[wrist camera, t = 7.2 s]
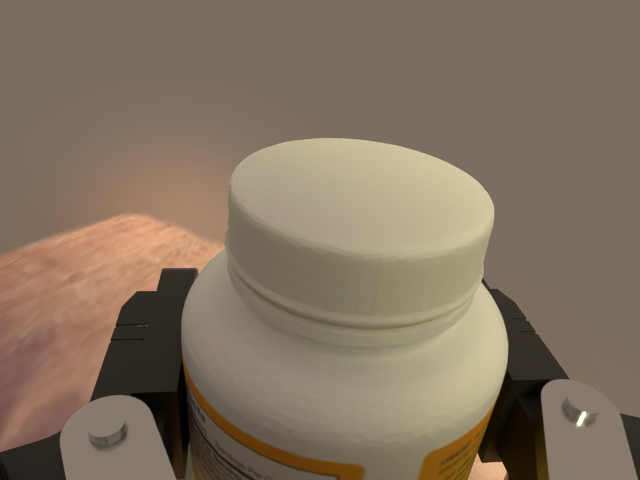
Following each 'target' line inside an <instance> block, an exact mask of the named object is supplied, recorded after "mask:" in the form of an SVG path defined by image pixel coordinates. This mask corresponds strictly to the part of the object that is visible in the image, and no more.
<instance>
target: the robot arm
mask: <svg viewBox="0 0 640 480" xmlns="http://www.w3.org/2000/svg"><path fill="white" fill-rule="evenodd" d="M197 276H198V270H197V268H163V269H162V272H161V276H160V280H159V283H158V287H157V291H137V292H136V293H135V294H134V295H133V296H132V297H131V298H130V299H129V300H128V301H127V302H126V303H125V304H124V305H123V306H122V308H121V311H120V314H119V317H118V320H117V323H116V328H114V331H113V334H112V337H111V343H109V346H108V349H107V352H106V355H105V358H104V361H103V364H102V367H101V370H100V373H99V376H98V379H97V382H96V385H95V388H94V391H93V394H92V397H91V400H90V402H89V403H88V404H86V405H84V406H83V407H81V408H80V409H78V410H77V411H76V412H75V413H74V414H73V415H72V416H71V417H70V418H69V419H68V420H67V422H66V424H65V425H64V427H63V429H62V431H60V432H58V433H57V434H54V435H52V436H50V437H48V438H45V439H42V440H40V441H36V442H33V443H30V444H27V445H23V446H20V447H17V448H13V449H10V450H7V451H3V452H0V480H181V479H185V475H186V466H187V457H188V449H189V440H190V439H189V427H188V415H187V404H186V392H185V382H184V370H183V359H182V343H181V324H182V313H183V309H184V304H185V301H186V298H187V295H188V293H189V290H190V288H191V287H192V285H193V283H194V281H195V280H196V278H197ZM481 283H482V284H483V285H484V286H485V288H486V289H487V290H488V292H489V293H490V294H491V296H492V298H493V299H494V301H495V303H496V305H497V307H498V309H499V311H500V313H501V315H502V318H503V321H504V324H505V328H506V333H507V339H508V361H507V367H506V372H505V376H504V379H503V383H502V386H501V389H500V392H499V395H498V398H497V400H496V403H495V406H494V408H493V411H492V414H491V416H490V419H489V422H488V425H487V428H486V430H485V433H484V436H483V438H482V441H481V444H480V446H479V449H478V452H477V453H478V455H479V457H480V460H481V462H482V463H486V462H503V464H504V466H505V468H506V471H507V473H506V475H505V477H504V480H640V418H638V417H634V416H629V415H625V414H620V413H619V412H618V410H617V408H616V407H615V405H614V404H613V403H612V402H611V401H610V400H609V399H608V398H607V397H606V396H604V395H603V394H602V393H600V392H599V391H597V390H596V389H594V388H592V387H590V386H588V385H586V384H584V383H581V382H577V381H574V380H570V379H569V378H568V376H567V375H566V373H565V372H564V371H563V369H562V368H561V366H560V365H559V363H558V362H557V361H556V359H555V358H554V357H553V355H552V354H551V352H550V351H549V349H548V348H547V347H546V345H545V344H544V343H543V341H542V340H541V338H540V337H539V335H537V334H535V330H534V328H533V327H532V326H531V325H530V323H529V321H526V317H525V316H524V314H523V313H522V312H521V310H520V309H519V307H518V306H517V305H516V303H515V302H514V301H512V300H511V299H510V298H508V297H507V296H506V295H504V294H503V293H502V292H500V291H499V290H498V289H490V288H489V287H488V285H487V283H486V282H485V281H484V279H483V278H482V281H481Z"/></svg>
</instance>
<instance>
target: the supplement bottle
mask: <svg viewBox="0 0 640 480" xmlns="http://www.w3.org/2000/svg"><path fill="white" fill-rule="evenodd" d="M228 206H229V207H228V209H229V220H228V230H227V233H226V240H225V245H226V248H225V249H224V250H222V251H221V252H220V253H219V254H217V255H216V256H215V257H214V258H213V259H212V260H211V261H210V262H209V263H208V264H207V265H206V266H205V267H204V268H203V270H202V271H201V272H200V273H199V275H198V276H197V278H196V280H195V281H194V283H193V285H192V287H191V288H190V290H189V293H188V295H187V298H186V301H185V304H184V309H183V313H182V324H181V343H182V359H183V370H184V382H185V392H186V404H187V415H188V427H189V439H190V451H191V463H192V475H193V480H468V477H469V474H470V471H471V468H472V466H473V463H474V460H475V457H476V454H477V452H478V449H479V446H480V444H481V441H482V438H483V436H484V433H485V430H486V428H487V425H488V422H489V419H490V416H491V414H492V411H493V408H494V406H495V403H496V400H497V398H498V395H499V392H500V389H501V386H502V383H503V379H504V376H505V372H506V367H507V361H508V339H507V333H506V328H505V324H504V321H503V318H502V315H501V313H500V311H499V309H498V307H497V305H496V303H495V301H494V299H493V298H492V296H491V294H490V293H489V292H488V290H487V289H486V288H485V286H484V285H483V284H482V283H481V281H482V278H483V261H484V257H485V253H486V249H487V245H488V242H489V238H490V235H491V231H492V227H493V222H494V206H493V203H492V200H491V198H490V197H489V195H488V193H487V192H486V191H485V189H484V188H483V187H482V186H481V185H480V183H478V182H477V181H476V180H475V179H474V178H472V177H471V176H469V175H468V174H467V173H465V172H464V171H462V170H460V169H459V168H457V167H455V166H453V165H451V164H449V163H447V162H445V161H442V160H440V159H438V158H435V157H433V156H430V155H427V154H424V153H421V152H418V151H415V150H412V149H407V148H404V147H400V146H396V145H391V144H385V143H379V142H373V141H366V140H356V139H336V138H317V139H306V140H297V141H290V142H285V143H281V144H277V145H274V146H270V147H267V148H264V149H262V150H259V151H257V152H255V153H253V154H251V155H250V156H248V157H247V158H246V159H244V160H243V161H242V162H241V163H240V164H239V165H238V166H237V168H236V169H235V170H234V171H233V174H232V176H231V179H230V184H229V196H228Z"/></svg>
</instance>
